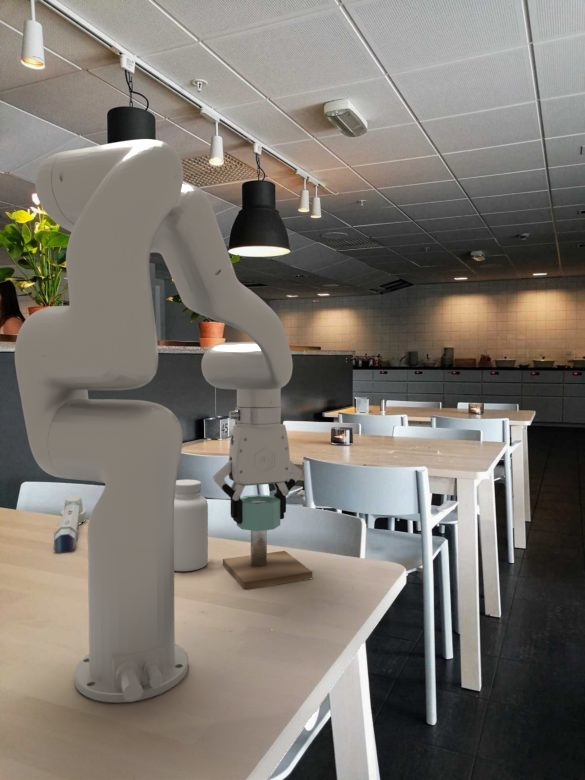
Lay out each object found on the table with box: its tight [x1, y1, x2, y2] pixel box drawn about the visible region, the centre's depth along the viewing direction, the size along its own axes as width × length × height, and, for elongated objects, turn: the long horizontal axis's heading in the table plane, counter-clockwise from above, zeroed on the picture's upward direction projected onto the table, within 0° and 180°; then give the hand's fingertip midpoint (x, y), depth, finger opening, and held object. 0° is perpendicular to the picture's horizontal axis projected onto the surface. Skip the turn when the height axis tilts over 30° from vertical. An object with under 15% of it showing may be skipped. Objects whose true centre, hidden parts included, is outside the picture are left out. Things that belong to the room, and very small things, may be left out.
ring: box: [236, 494, 281, 532], centre depth 100 cm, size 7×7×4 cm
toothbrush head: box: [53, 495, 87, 554], centre depth 122 cm, size 5×7×25 cm
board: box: [222, 550, 313, 590], centre depth 100 cm, size 12×12×1 cm
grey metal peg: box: [250, 500, 268, 567], centre depth 100 cm, size 3×3×11 cm
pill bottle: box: [174, 479, 209, 572], centre depth 103 cm, size 8×8×15 cm
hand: (258, 518), depth 100 cm, fingers closed on ring, 7 cm apart
